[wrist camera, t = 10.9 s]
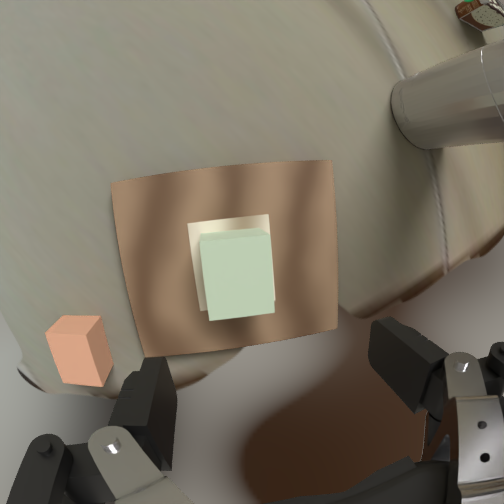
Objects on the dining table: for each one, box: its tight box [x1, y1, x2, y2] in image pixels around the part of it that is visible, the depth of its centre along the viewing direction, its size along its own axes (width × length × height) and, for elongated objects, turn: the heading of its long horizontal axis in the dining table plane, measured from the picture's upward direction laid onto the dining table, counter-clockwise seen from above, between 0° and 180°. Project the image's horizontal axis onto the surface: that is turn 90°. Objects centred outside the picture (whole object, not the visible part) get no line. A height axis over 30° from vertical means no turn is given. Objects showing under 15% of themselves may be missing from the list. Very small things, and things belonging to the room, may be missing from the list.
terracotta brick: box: [45, 315, 113, 387], centre depth 23 cm, size 5×6×4 cm
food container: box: [455, 0, 504, 32], centre depth 18 cm, size 12×6×10 cm, turn 102°
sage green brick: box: [199, 228, 275, 321], centre depth 22 cm, size 5×6×4 cm
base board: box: [111, 160, 338, 357], centre depth 25 cm, size 20×17×2 cm
